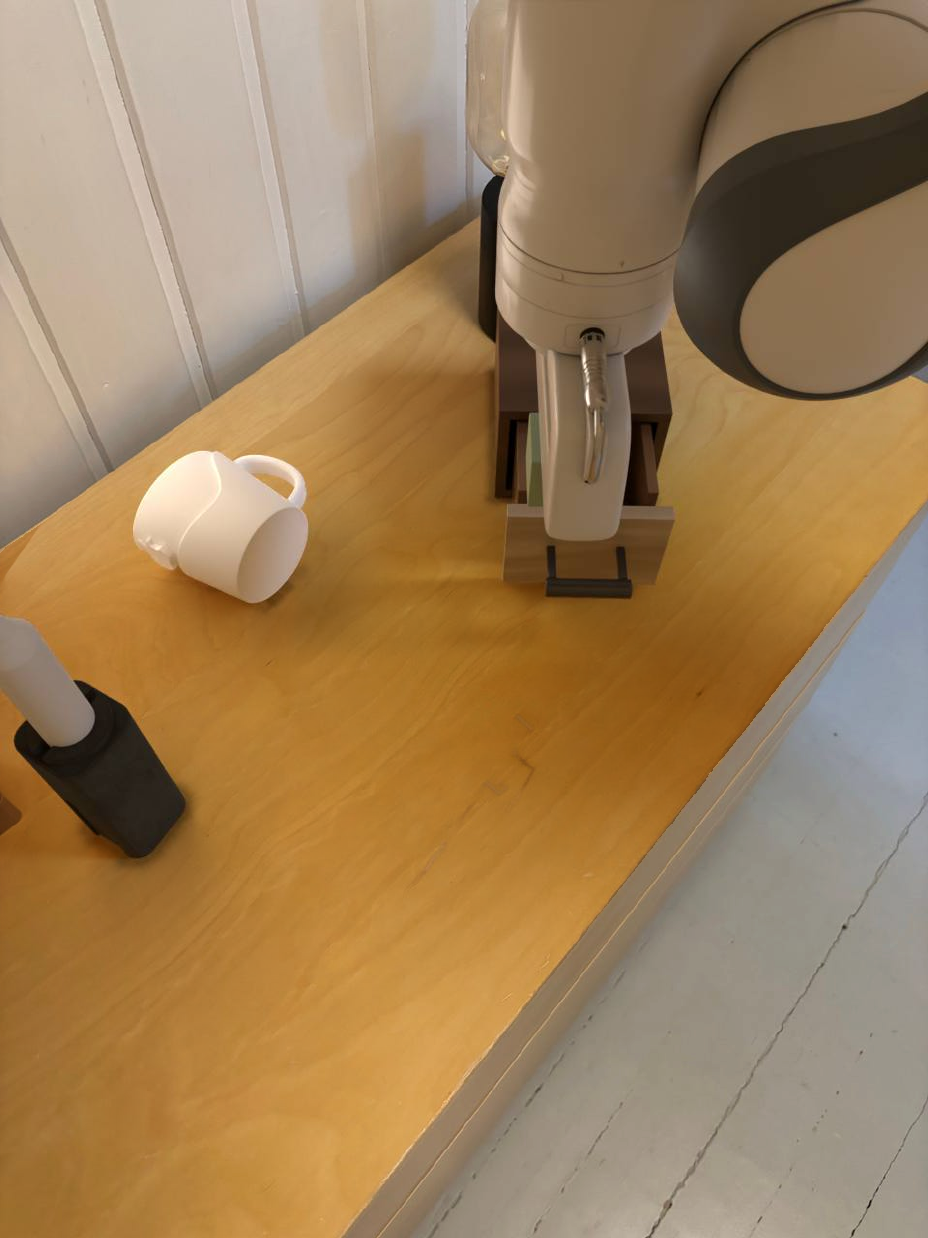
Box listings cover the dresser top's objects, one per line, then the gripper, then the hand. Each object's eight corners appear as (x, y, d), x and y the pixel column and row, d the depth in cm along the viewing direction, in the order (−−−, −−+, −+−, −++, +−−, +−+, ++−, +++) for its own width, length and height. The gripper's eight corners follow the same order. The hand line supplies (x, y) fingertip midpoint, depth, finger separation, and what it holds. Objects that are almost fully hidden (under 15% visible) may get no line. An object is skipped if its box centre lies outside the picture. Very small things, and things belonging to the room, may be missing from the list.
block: (589, 458, 59) (596, 412, 56) (593, 507, 57) (601, 462, 54) (525, 458, 59) (529, 411, 56) (527, 507, 57) (531, 462, 54)
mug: (241, 630, 70) (219, 567, 63) (149, 574, 73) (118, 508, 66) (339, 525, 75) (328, 457, 69) (250, 476, 78) (231, 406, 71)
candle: (193, 800, 63) (59, 586, 42) (141, 865, 60) (-28, 672, 39) (134, 764, 64) (-24, 539, 43) (82, 826, 62) (-112, 619, 41)
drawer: (660, 632, 69) (681, 568, 62) (502, 629, 69) (507, 565, 62) (639, 452, 79) (656, 381, 72) (501, 450, 79) (505, 378, 72)
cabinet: (649, 500, 77) (672, 413, 69) (494, 497, 77) (498, 410, 69) (635, 374, 85) (654, 283, 77) (494, 372, 85) (498, 281, 77)
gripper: (678, 425, 39) (629, 607, 51) (633, 149, 50) (602, 350, 62) (528, 424, 39) (513, 606, 51) (517, 148, 51) (507, 350, 62)
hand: (562, 463), depth 57 cm, fingers closed on block, 4 cm apart
